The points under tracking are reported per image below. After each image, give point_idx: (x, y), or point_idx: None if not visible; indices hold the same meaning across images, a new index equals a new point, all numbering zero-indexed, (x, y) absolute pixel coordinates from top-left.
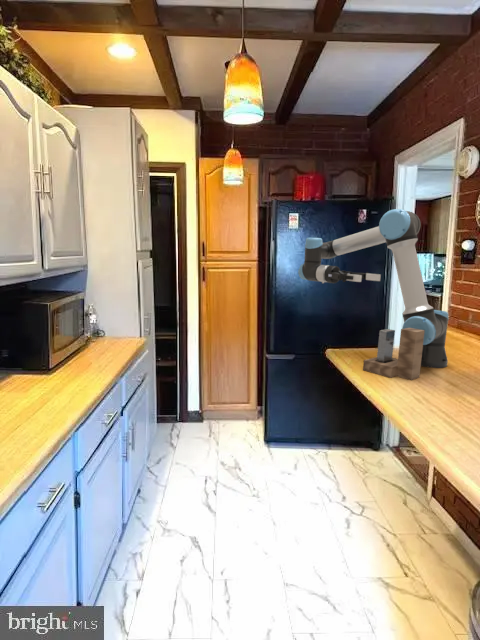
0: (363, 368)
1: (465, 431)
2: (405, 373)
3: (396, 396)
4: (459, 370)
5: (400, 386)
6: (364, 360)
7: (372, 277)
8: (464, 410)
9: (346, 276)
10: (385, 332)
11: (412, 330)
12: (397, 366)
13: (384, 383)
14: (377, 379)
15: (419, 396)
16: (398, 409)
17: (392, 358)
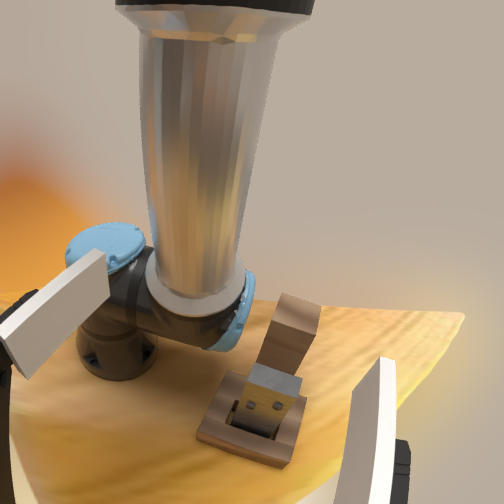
0: (283, 467)
1: (411, 315)
2: None
3: None
4: None
5: (334, 386)
6: (290, 460)
7: (64, 317)
8: (361, 315)
9: (401, 501)
10: (300, 382)
11: (308, 313)
12: None
13: (339, 411)
14: (325, 427)
15: (357, 357)
16: (420, 368)
17: (218, 406)
